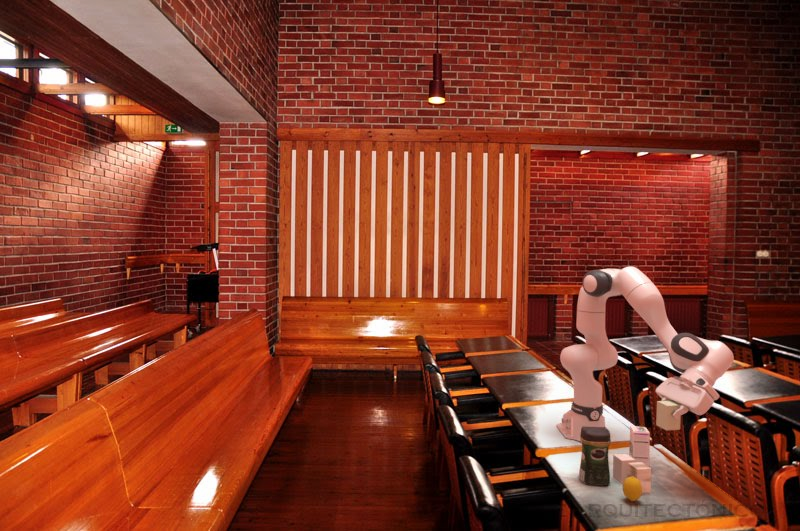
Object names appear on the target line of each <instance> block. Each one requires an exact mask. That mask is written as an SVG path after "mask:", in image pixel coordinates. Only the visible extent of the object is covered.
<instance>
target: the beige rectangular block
mask: <svg viewBox="0 0 800 531" xmlns="http://www.w3.org/2000/svg"><path fill="white" fill-rule="evenodd" d="M680 406H681V405H679V404H677V403H675V402H673V401H662V400H659V401H658V400H657V401H656V419H655V420H656V421H655V423H656V425H655V426H657V427H659V428H661V429H663V430H664V431H677V430H678V431H680V430H681V420H682V419H681V417H682V415H680V416H679V417H678V418H677V419H676V418H674V417H672V415H671V413H672V412H673V411H674V410H675V411H676V410H678V409H680Z"/></svg>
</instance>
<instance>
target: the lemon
mask: <svg viewBox="0 0 800 531" xmlns="http://www.w3.org/2000/svg"><path fill="white" fill-rule="evenodd" d="M622 493H623V495H624V496H625V498H626V499H628V500H629V501H630V502H632V501H633V502H634V501H638V500H639V499H640V498H641V496H642V495H643V493H642V486H641V483H640V481H639V480H638V479H637V478H635V477H634V476H631V477H628V478H626V479H625V481H624V483H623V484H622Z"/></svg>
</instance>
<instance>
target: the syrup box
mask: <svg viewBox="0 0 800 531" xmlns="http://www.w3.org/2000/svg"><path fill="white" fill-rule="evenodd" d="M650 435H651V434H650V431H649V430H648V429H647V427H646V426H641V425H640V426H638V425H631V426H629V449H628V450H629V453H628V455H629V456H630V457H632V458H633V459H635V460H636V461H635V463H637V462H642V463H644V464H645V465H647V466H648V467H650V444H651V443H650Z"/></svg>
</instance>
